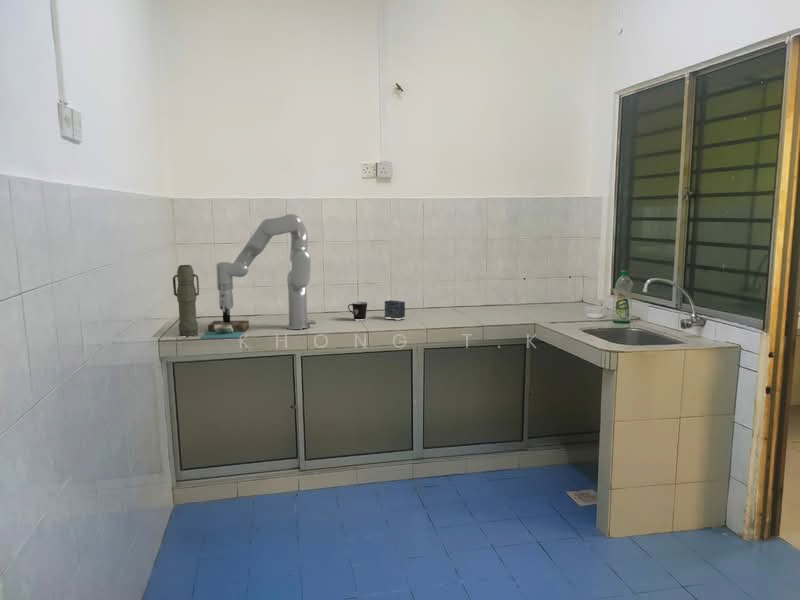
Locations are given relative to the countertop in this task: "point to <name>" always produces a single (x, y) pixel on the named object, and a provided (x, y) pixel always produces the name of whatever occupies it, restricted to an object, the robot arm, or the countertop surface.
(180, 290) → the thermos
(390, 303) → the small box
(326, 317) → the countertop surface
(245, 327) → the riser
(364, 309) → the coffee mug
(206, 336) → the mat
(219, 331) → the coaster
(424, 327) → the countertop surface
